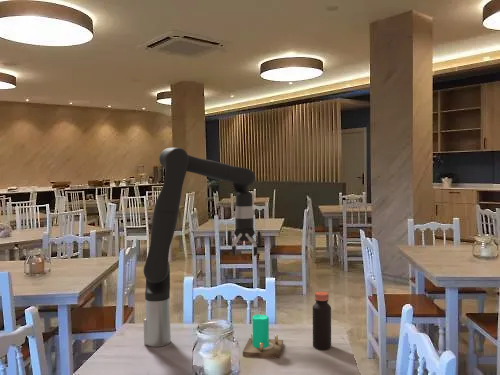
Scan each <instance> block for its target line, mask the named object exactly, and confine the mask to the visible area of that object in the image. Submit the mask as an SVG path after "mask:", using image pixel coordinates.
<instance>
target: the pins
mask: <svg viewBox="0 0 500 375" xmlns="http://www.w3.org/2000/svg"><path fill="white" fill-rule="evenodd" d="M250 335H251V336H250V338H251V343H253V333H251V334H250ZM274 340H275V344H278V340H279V335H278V334H275V335H274ZM260 352H263V343H262V342H261V343H260Z"/></svg>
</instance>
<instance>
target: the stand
mask: <svg viewBox="0 0 500 375" xmlns="http://www.w3.org/2000/svg"><path fill="white" fill-rule="evenodd" d="M283 345H284V339H278V344H275V339H272V338H271V339H270V338H269V346H268V347H266V348H263V352H260V348H255V347H254V346H253V343H251V337H249V338H248V340H247V342H246V344H245V346H244V348H243V351H242V357H254V358H266V359H267V358H269V359H280V356H281V353H282V350H283Z"/></svg>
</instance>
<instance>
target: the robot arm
mask: <svg viewBox="0 0 500 375" xmlns="http://www.w3.org/2000/svg"><path fill="white" fill-rule="evenodd" d="M158 158H159V160H158V161H159V163H160V165H161V167H162V168H163V169H165V172H164V173H165V174H164V180H163V183H162V184H163V185H162V188H161V190H160V192H159V194H158V196H157V198H156V201H155V204H154V207H153V214H152V220H151V229H150V243H149V247H148V248H149V249H148V252H147V257H146V260H145V263H144V266H143V274H144V277H145V291H144V299H145V300H144V302H145V304H144V305H145V318H144V319H143V344H144V345H146V346H148V347H153V348H154V347H156V348H157V347H163V346H167V345H169V344H170V343H171V300H170V299H171V298H170V297H171V296H170V294H171V267H170V262H169V254H170V249H171V245H172V244H171V243H172V241H173V238H174V235H175V232H176V227H177V224H178V218H179V211H180V204H181V199H182V191H183V184H184V182H185V178H186V174H187V173H193V174H197V175H200V176H203V177H207V178H210V179H213V180H217V181H221V182H229V183H232V186H233V190H234V194H235V210H234V215H235V216H234V217H235V219H234V220H235V222H234V223H235V230H232V229H230V230H228V231H227V245H228V246H231V254H232V255H233V256H237V246H236V245H237V244H238V243H239V241H240V242H250V243H251V244H252V246H253V257H256V256H257V255H258V252H259V251H258V249H259V248H258V247H260V246H262V245H263V239H262V238H263V237H262V231H261V230H254V229H255V228H254V216H255V215H254V207H253V206H254V205H253V202H254V200H253V193H252V192H250V191H249V186H253V184H254V183H255V181H256V174H255V172H254V171H253V170H252V169H250V168H247V167H246V168H245V167H241V166H234V165H231V164H227V163H224V162H219V161H215V160H212V159H207V158H206V159H205V158H199V157H195V156H192V155H189V154H188V153H187V151H186V149H183V148H181V147H174V146H172V147H167V148H165V149H163V150H162V151H161V153H160V154H159V156H158ZM234 235H235V237H236V238H235V239H234V241H232V239H233V236H234ZM254 236H256V237H257V241H256V240H255V238H254Z"/></svg>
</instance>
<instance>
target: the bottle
mask: <svg viewBox="0 0 500 375" xmlns="http://www.w3.org/2000/svg"><path fill="white" fill-rule="evenodd" d="M314 300H315V303H314V304H312V347H313V348H314V349H316V350H319V351H327V350H329V349H331V347H332V307H331V305H330V304H329V303H328V302H329V292H325V291H317V292H315V293H314Z"/></svg>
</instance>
